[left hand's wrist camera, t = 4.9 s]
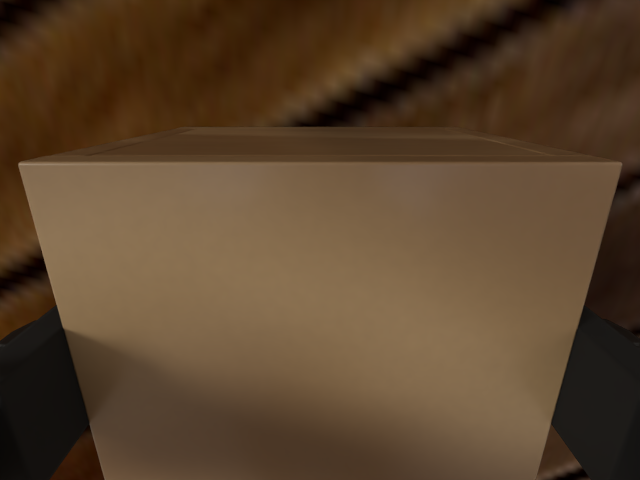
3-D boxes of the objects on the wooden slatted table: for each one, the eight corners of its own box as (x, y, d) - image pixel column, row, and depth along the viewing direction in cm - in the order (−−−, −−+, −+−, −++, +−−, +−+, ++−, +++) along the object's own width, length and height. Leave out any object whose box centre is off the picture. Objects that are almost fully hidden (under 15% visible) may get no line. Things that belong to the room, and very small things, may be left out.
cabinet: (420, 431, 21) (487, 656, 13) (219, 431, 21) (152, 655, 13) (457, 126, 15) (625, 161, 7) (182, 126, 15) (15, 161, 7)
